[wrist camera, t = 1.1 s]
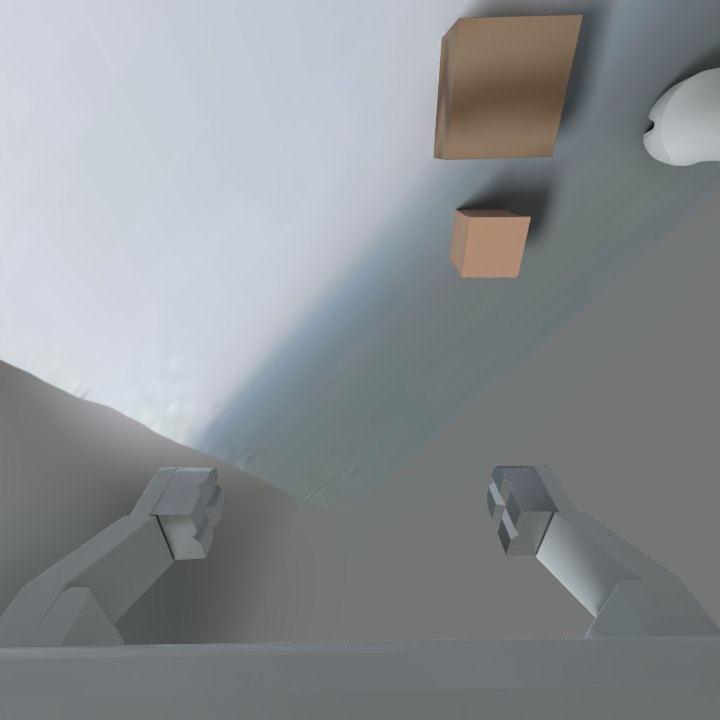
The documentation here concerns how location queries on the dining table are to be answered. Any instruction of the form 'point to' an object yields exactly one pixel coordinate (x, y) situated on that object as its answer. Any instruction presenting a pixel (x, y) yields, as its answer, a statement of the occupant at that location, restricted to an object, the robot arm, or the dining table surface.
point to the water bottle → (687, 121)
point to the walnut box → (503, 86)
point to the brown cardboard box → (488, 242)
